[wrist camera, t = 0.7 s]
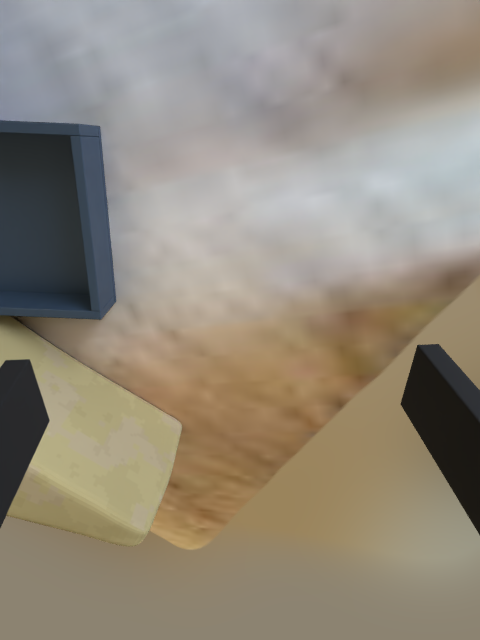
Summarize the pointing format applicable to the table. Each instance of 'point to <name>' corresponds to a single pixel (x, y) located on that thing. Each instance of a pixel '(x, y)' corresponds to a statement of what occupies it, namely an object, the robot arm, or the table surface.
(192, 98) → the table surface
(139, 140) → the table surface
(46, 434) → the cheese
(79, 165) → the bin
